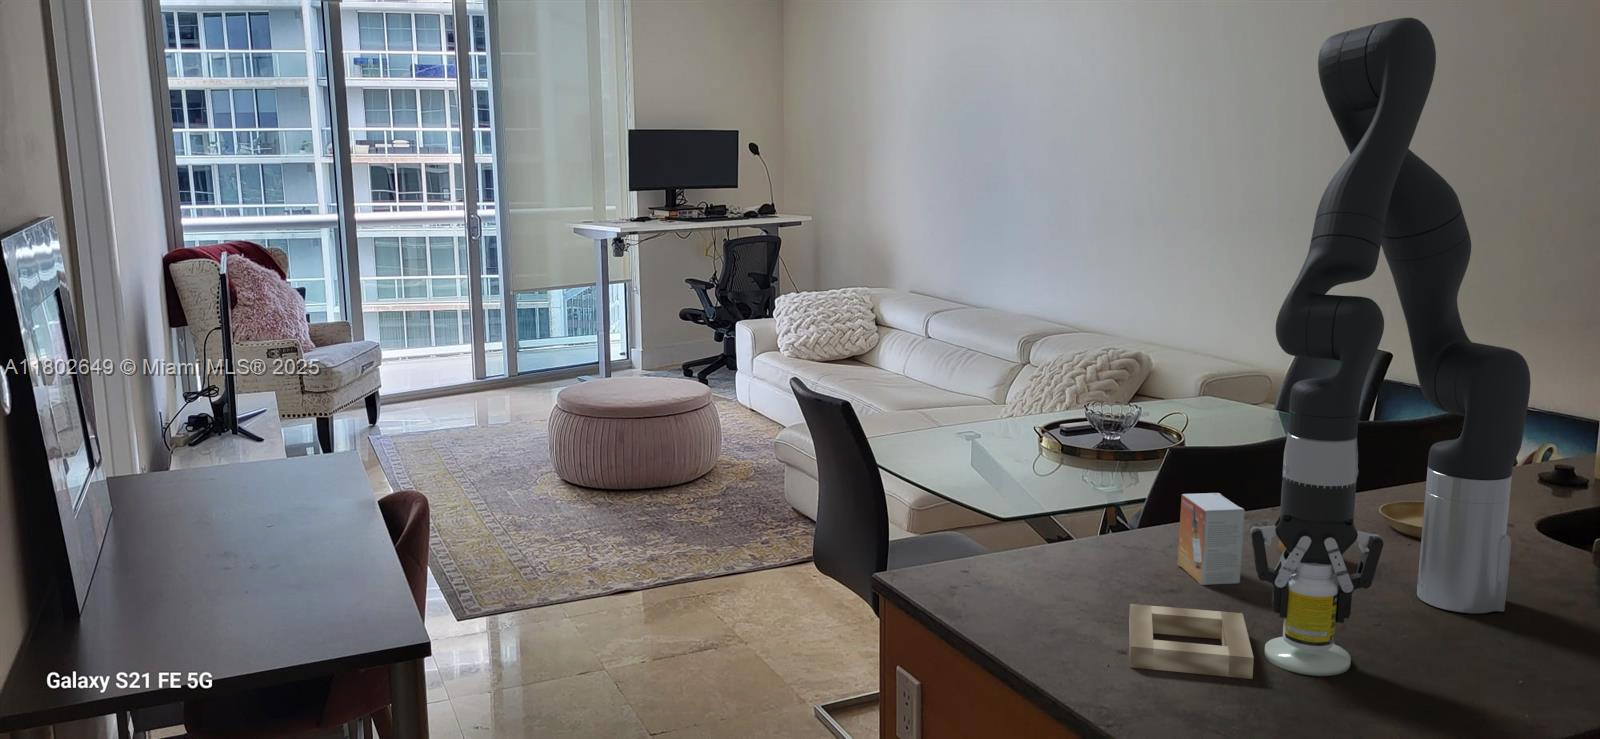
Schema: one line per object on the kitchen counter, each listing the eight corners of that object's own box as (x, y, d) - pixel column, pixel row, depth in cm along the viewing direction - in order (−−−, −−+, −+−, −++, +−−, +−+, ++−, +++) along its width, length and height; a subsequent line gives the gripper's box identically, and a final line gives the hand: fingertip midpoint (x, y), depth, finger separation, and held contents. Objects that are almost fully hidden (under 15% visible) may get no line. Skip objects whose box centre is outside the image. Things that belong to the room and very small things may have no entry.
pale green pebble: (1342, 646, 137) (1343, 640, 137) (1357, 679, 129) (1357, 672, 129) (1260, 639, 140) (1260, 633, 140) (1269, 671, 131) (1269, 664, 131)
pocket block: (1241, 632, 142) (1242, 613, 141) (1252, 679, 129) (1253, 657, 129) (1129, 623, 145) (1130, 603, 145) (1129, 667, 133) (1130, 646, 132)
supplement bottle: (1339, 654, 131) (1345, 570, 129) (1287, 650, 132) (1292, 567, 130) (1328, 634, 136) (1333, 553, 134) (1278, 631, 137) (1283, 551, 135)
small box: (1176, 565, 165) (1180, 493, 163) (1215, 563, 165) (1219, 491, 164) (1200, 586, 157) (1204, 510, 155) (1241, 584, 158) (1245, 508, 156)
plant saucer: (1356, 521, 184) (1357, 505, 183) (1431, 512, 188) (1432, 496, 188) (1432, 551, 170) (1433, 534, 169) (1511, 540, 174) (1512, 523, 174)
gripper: (1383, 468, 132) (1372, 611, 135) (1247, 461, 136) (1239, 600, 139) (1397, 487, 125) (1385, 637, 128) (1253, 479, 129) (1245, 625, 132)
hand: (1309, 617), depth 133 cm, fingers closed on supplement bottle, 5 cm apart
